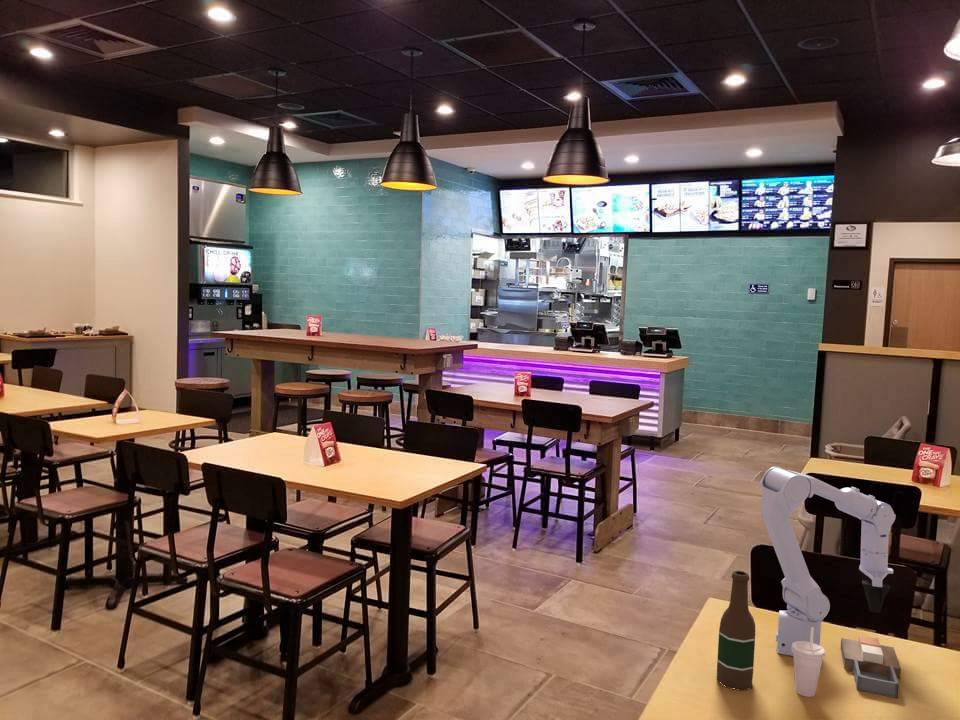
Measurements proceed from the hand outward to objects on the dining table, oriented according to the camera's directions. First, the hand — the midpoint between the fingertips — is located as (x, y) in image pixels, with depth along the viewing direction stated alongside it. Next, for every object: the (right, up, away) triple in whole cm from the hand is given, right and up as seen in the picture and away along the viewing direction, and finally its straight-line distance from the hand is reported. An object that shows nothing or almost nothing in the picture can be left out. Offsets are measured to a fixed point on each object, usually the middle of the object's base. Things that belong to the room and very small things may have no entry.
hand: (872, 605), depth 174 cm
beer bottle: (-39, -11, -18) cm, 45 cm away
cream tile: (-6, -8, -11) cm, 15 cm away
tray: (-9, -11, -17) cm, 22 cm away
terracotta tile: (-4, -8, -6) cm, 11 cm away
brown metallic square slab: (-5, -11, -8) cm, 14 cm away
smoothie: (-26, -11, -21) cm, 35 cm away
